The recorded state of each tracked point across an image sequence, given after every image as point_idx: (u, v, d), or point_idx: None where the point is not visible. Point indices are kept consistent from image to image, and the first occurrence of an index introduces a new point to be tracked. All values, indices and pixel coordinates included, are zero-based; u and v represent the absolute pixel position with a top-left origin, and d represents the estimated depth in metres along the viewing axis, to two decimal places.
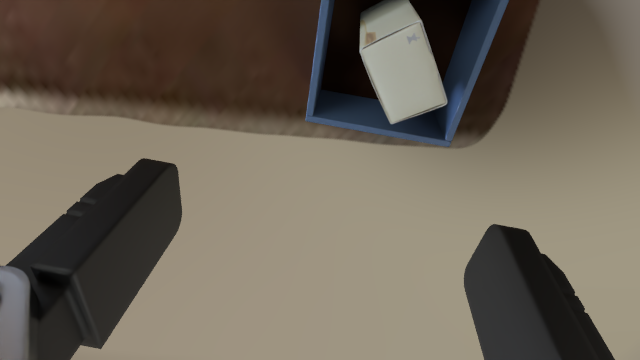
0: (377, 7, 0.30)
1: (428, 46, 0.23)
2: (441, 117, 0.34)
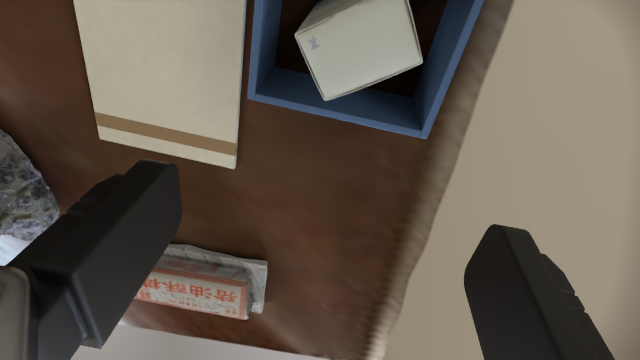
0: None
1: (324, 21, 0.19)
2: None
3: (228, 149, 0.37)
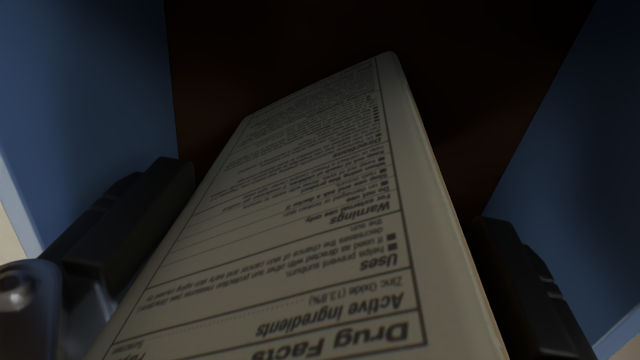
0: None
1: None
2: None
3: None
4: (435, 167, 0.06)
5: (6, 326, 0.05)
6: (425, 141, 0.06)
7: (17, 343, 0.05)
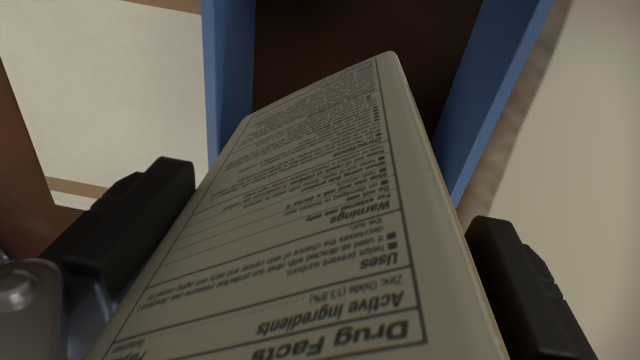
0: None
1: None
2: None
3: None
4: (435, 166, 0.06)
5: (6, 326, 0.05)
6: (425, 140, 0.06)
7: (17, 343, 0.05)
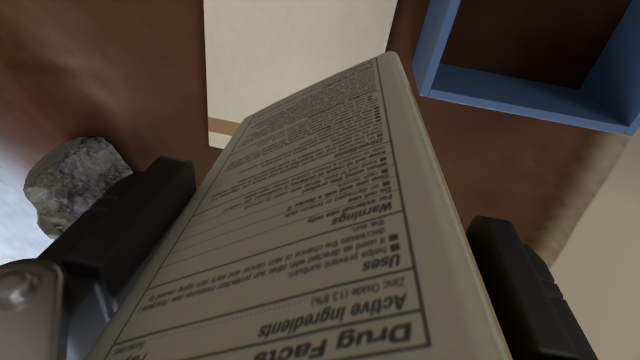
0: None
1: None
2: None
3: None
4: (437, 167, 0.06)
5: (6, 326, 0.05)
6: (427, 141, 0.06)
7: (17, 343, 0.05)
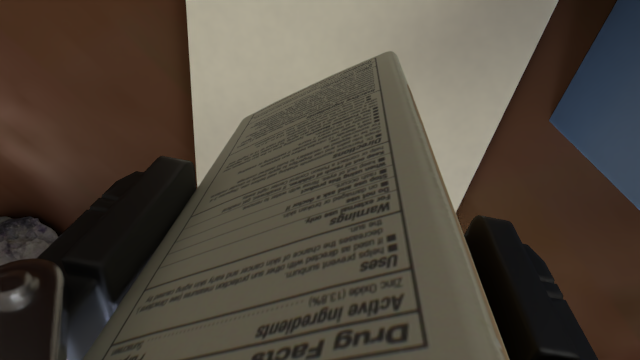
0: None
1: None
2: None
3: None
4: (435, 168, 0.06)
5: (6, 327, 0.05)
6: (425, 142, 0.06)
7: (17, 343, 0.05)
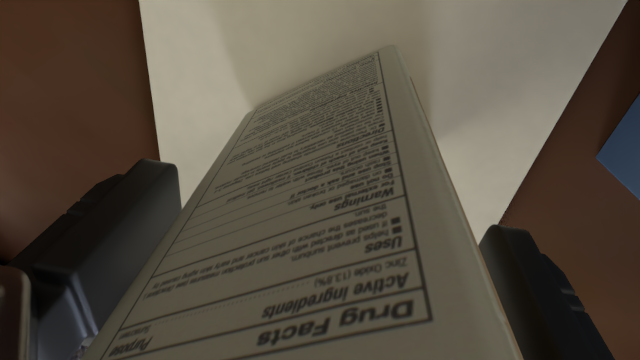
0: None
1: None
2: None
3: None
4: (439, 154, 0.06)
5: None
6: (428, 130, 0.06)
7: None
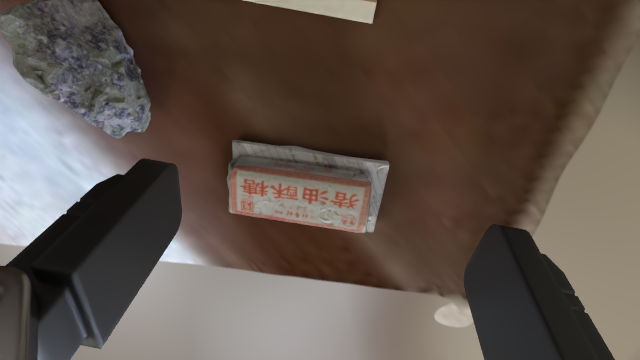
0: None
1: None
2: None
3: None
4: None
5: None
6: None
7: None
